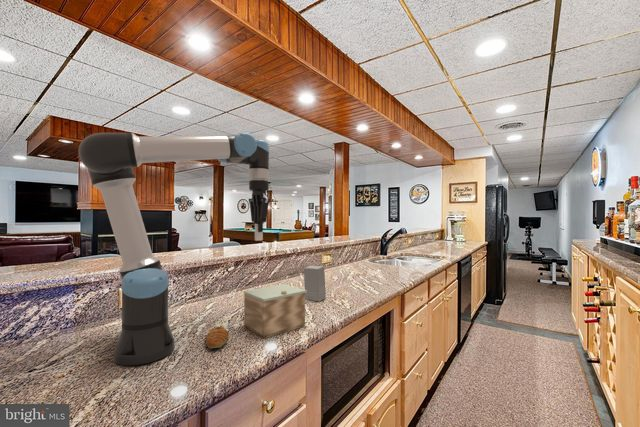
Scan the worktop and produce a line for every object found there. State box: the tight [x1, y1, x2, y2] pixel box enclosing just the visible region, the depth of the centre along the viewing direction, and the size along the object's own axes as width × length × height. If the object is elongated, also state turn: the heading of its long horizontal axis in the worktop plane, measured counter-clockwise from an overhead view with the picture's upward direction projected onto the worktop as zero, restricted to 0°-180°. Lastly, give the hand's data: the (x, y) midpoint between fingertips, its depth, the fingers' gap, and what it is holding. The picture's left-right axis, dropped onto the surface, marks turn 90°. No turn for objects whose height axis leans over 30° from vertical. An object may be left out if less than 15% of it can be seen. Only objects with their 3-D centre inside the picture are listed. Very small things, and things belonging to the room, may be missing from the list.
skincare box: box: [303, 265, 327, 302], centre depth 142 cm, size 8×7×16 cm
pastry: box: [205, 326, 229, 349], centre depth 92 cm, size 9×7×4 cm
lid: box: [243, 283, 307, 302], centre depth 108 cm, size 18×14×2 cm
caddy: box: [243, 293, 306, 340], centre depth 108 cm, size 17×14×12 cm
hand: (258, 240), depth 117 cm, fingers closed
